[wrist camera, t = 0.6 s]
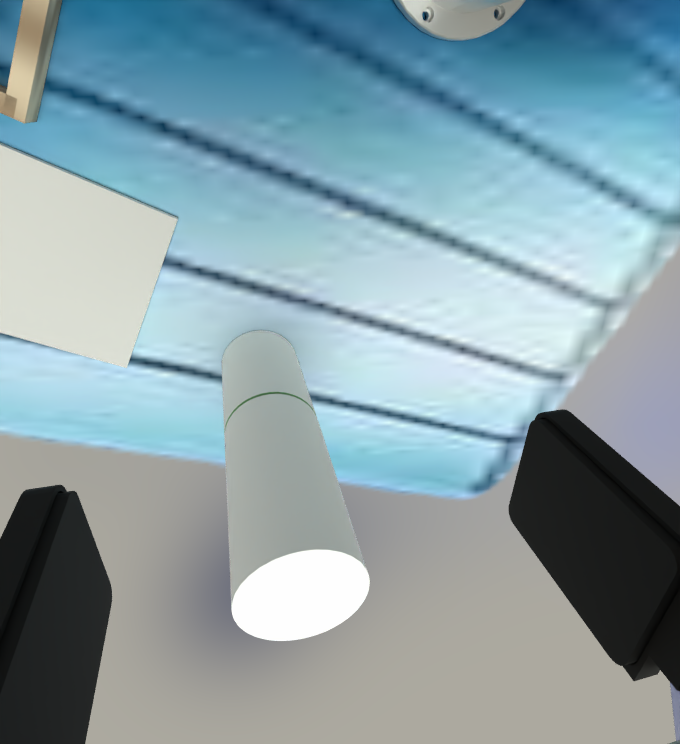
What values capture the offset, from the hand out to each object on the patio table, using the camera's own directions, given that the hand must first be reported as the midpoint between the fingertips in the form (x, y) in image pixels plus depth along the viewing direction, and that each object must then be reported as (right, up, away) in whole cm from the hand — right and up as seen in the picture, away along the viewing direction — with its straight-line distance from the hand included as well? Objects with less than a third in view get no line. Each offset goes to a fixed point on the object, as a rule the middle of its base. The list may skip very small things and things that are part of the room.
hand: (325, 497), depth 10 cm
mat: (-22, +11, +27) cm, 36 cm away
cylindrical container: (-7, +3, +35) cm, 36 cm away
